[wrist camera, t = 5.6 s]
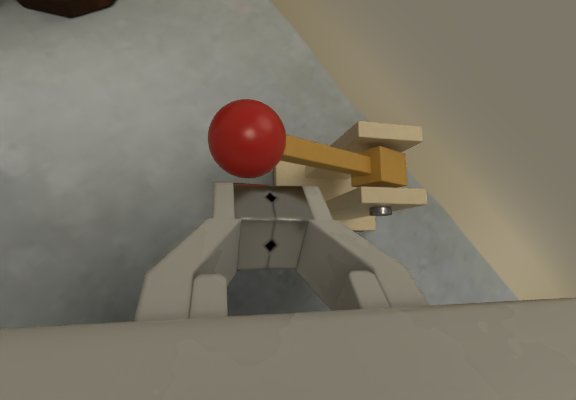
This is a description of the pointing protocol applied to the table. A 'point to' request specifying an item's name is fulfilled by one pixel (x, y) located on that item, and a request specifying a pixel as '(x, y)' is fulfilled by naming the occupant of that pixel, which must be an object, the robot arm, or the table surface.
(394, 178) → the lever
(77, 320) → the table surface
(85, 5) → the mug
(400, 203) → the bracket
